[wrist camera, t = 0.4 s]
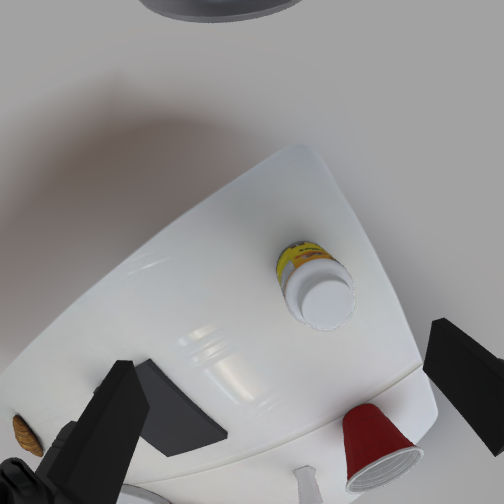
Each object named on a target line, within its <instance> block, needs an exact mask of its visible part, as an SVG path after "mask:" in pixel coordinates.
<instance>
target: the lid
mask: <svg viewBox="0 0 504 504" xmlns="http://www.w3.org/2000/svg"><path fill="white" fill-rule="evenodd" d="M116 504H171V503H170V502H169V501H167V500H165V499H164V498H162V497H161V496H158V495H156V494H154V493H152V492H149V491H146V490H144V489H141V488H137V487H134V486H130V485H125V484H123V485H122V488H121V491H120V494H119V497H118V500H117V503H116Z"/></svg>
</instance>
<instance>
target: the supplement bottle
mask: <svg viewBox="0 0 504 504" xmlns="http://www.w3.org/2000/svg"><path fill="white" fill-rule="evenodd" d="M276 273H277V277H278V280H279V284H280V287H281V290H282V293H283V296H284V299H285V302H286V305H287V307H288V309H289V311H290V313H291V314H292V316H293V317H294V318H295V319H297V320H298V321H299V322H301V323H303V324H306V325H309V326H310V327H312V328H314V329H316V330H320V331H330V330H334V329H336V328H338V327H340V326H342V325H343V324H344V323H345V322H346V321H347V320H348V319H349V318H350V317H351V315H352V313H353V310H354V307H355V297H354V284H353V280H352V277H351V275H350V273H349V272H348V271H347V269H346V268H345V267H344V266H343V265H341V264H340V263H339V262H338V261H337V260H336V259H334V258H333V257H332V256H331V255H330V254H329V253H327V252H326V251H325V250H324V249H323V248H322V247H320V246H319V245H317V244H315V243H312V242H306V241H304V242H297V243H294V244H292V245H290V246H288V247H287V248H286V249H285V250H284V251H283V252H282V253H281V255H280V257H279V259H278V261H277V266H276Z"/></svg>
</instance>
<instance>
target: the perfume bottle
mask: <svg viewBox="0 0 504 504" xmlns="http://www.w3.org/2000/svg"><path fill="white" fill-rule="evenodd" d="M315 470H316V469H314V468H312V467H310V466H306V467H303V468H300V469H296V470H295V477H296V479H297V481H298V492H299V504H324V503H323V500H322V497H321V494H320V491H319V488H318V485H317V482H316V478H315Z"/></svg>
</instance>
